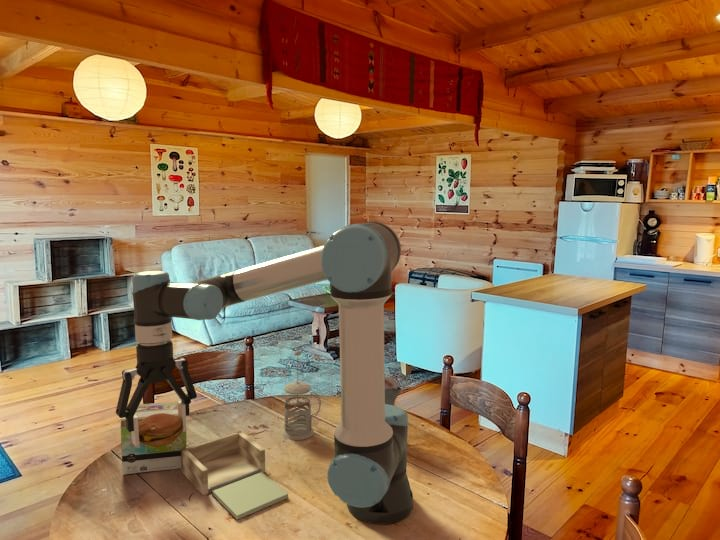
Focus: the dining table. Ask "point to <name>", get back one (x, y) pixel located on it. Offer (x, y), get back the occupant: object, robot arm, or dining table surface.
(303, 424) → the french press
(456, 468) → the dining table surface
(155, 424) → the burger
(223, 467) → the crate
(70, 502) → the dining table surface
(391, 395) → the moka pot
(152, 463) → the tea box
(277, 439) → the dining table surface
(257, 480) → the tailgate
